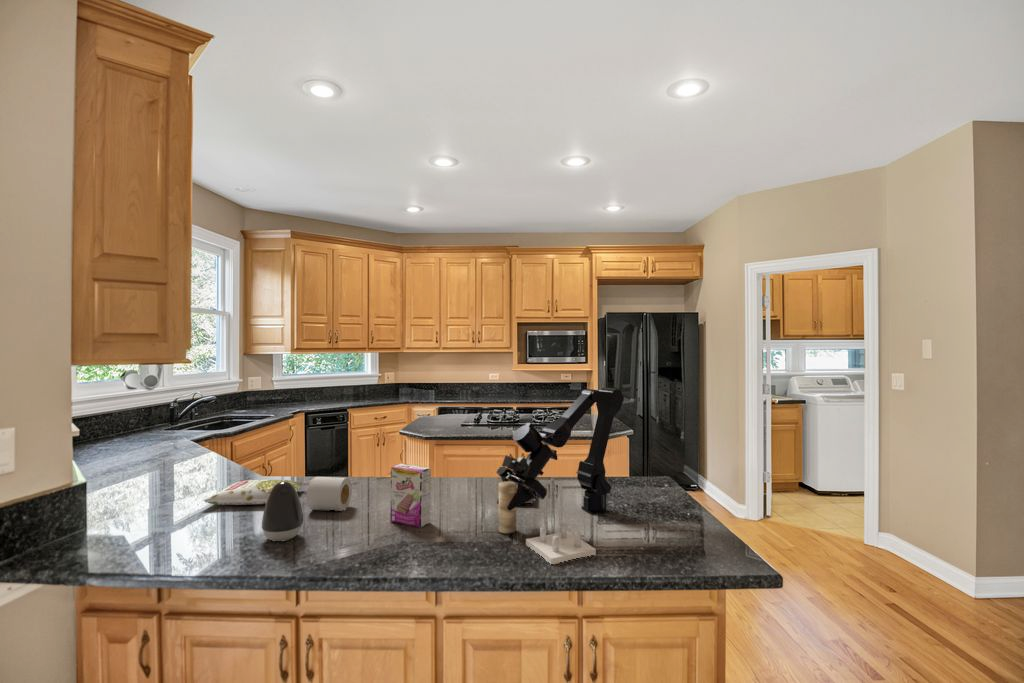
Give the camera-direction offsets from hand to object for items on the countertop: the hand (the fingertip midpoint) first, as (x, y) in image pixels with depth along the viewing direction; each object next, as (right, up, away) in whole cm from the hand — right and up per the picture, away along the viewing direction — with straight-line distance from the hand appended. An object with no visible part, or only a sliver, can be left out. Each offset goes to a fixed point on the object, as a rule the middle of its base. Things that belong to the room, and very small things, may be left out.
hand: (503, 506), depth 140 cm
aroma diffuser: (-59, -7, -5) cm, 60 cm away
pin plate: (+15, -7, -11) cm, 20 cm away
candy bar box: (-28, -7, +7) cm, 29 cm away
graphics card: (+5, -8, +30) cm, 31 cm away
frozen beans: (-83, -7, +27) cm, 87 cm away
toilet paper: (-55, -7, +18) cm, 58 cm away
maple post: (+1, -7, +1) cm, 7 cm away
